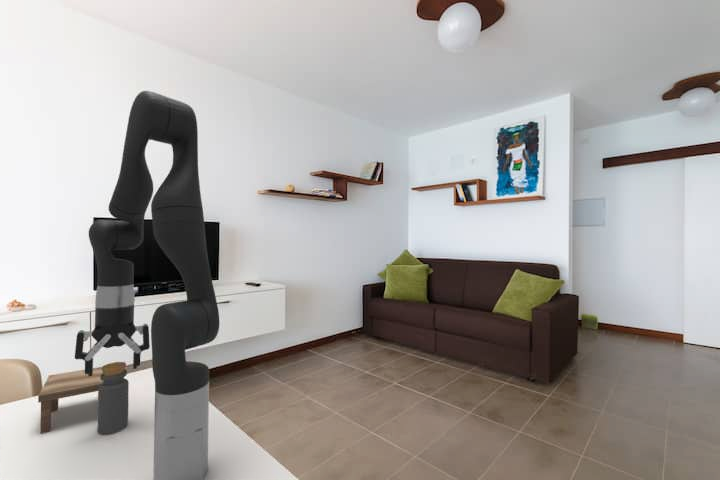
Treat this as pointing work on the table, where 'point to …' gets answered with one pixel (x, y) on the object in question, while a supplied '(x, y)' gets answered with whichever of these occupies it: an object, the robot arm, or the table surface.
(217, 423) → the table surface
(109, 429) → the bottle
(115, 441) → the table surface
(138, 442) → the table surface
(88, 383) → the wooden bench
